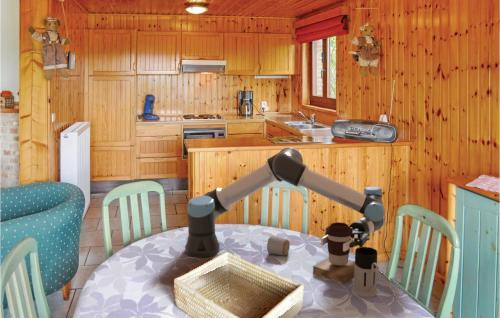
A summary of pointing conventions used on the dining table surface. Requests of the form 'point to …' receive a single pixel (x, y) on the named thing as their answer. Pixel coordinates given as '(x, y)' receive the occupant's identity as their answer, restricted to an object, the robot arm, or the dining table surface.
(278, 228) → the dining table surface
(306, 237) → the dining table surface
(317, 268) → the walnut slab
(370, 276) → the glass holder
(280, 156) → the robot arm
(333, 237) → the coffee cup
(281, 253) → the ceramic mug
